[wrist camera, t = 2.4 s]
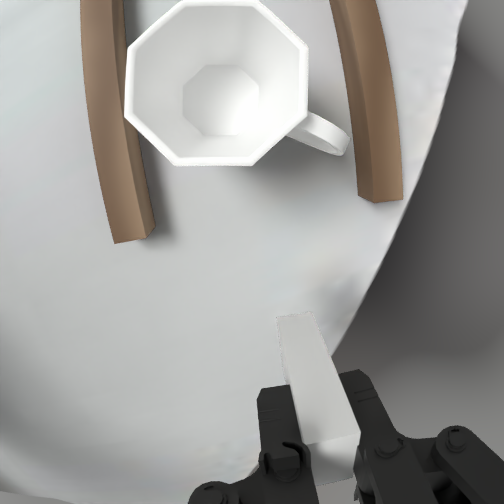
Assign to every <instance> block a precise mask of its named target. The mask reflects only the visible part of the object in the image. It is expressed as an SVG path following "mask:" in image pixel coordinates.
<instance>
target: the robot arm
mask: <svg viewBox="0 0 504 504" xmlns="http://www.w3.org/2000/svg"><path fill="white" fill-rule="evenodd" d="M276 319H277V326H278V334H279V343H280V351H281V359H282V367H283V372H284V376H285V381H286V385H282V386H276V387H270V388H263V389H261V391H260V393H259V396H258V398H257V409H258V419H259V430H260V441H261V452H260V454H259V460H258V462H259V465H260V466H259V468H258V469H257V471H256V472H255V473H253V474H252V475H251V476H249V477H247V478H245V479H243V480H240V481H238V482H235V483H232V484H227V483H224V482H220V481H211V482H208V483H204V484H202V485H200V486H199V487H197V488H196V489H195V490H194V492H193V493H192V495H191V496H190V499H189V502H188V504H319V501H318V496H317V492H316V488H315V486H319V485H324V484H328V483H333V482H337V481H341V480H345V479H349V478H352V477H353V473H355V476H356V480H357V485H356V490H355V493H354V501H355V500H358V498H359V502H360V504H504V461H503V460H502V459H501V458H500V457H499V456H498V455H497V454H495V453H494V452H493V451H492V450H491V449H490V448H489V447H488V446H487V445H486V444H485V443H484V442H482V441H481V440H480V439H479V438H478V437H477V436H476V435H475V434H474V433H473V432H472V431H470V430H469V429H467V428H465V427H462V426H458V425H457V426H450V427H447V428H445V429H443V430H442V431H441V432H440V433H439V434H438V436H437V437H435V438H425V439H412V438H408V437H405V436H404V435H402V434H400V433H399V432H397V431H396V429H395V428H394V426H393V424H392V422H391V420H390V418H389V416H388V414H387V412H386V410H385V408H384V406H383V404H382V402H381V400H380V398H379V397H378V394H377V392H376V390H375V389H374V386H373V384H372V382H371V380H370V378H369V377H368V376H367V375H366V374H364V373H363V372H362V371H360V370H359V369H358V370H354V371H350V372H345V373H341V374H337V371H336V369H335V366H334V364H333V362H332V359H331V357H330V354H329V352H328V349H327V347H326V345H325V342H324V340H323V337H322V335H321V333H320V330H319V328H318V325H317V323H316V321H315V318H314V316H313V314H312V311H311V312H305V313H300V314H294V315H288V316H282V317H276Z"/></svg>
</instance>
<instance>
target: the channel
mask: <svg viewBox="0 0 504 504" xmlns="http://www.w3.org/2000/svg"><path fill="white" fill-rule="evenodd" d="M329 1H330V5H331V10H332V14H333V19H334V23H335V28H336V32H337V37H338V42H339V47H340V53H341V58H342V64H343V70H344V76H345V82H346V88H347V95H348V102H349V109H350V116H351V124H352V133H353V142H354V152H355V162H356V174H357V187H358V195H359V196H361V197H363V198H365V199H367V200H369V201H371V202H373V203H378V202H386V201H395V200H403V183H402V164H401V149H400V138H399V127H398V118H397V110H396V102H395V95H394V88H393V81H392V75H391V69H390V64H389V58H388V53H387V48H386V43H385V38H384V34H383V29H382V25H381V21H380V17H379V13H378V9H377V5H376V1H375V0H329ZM80 19H81V45H82V61H83V73H84V84H85V93H86V102H87V110H88V117H89V124H90V131H91V137H92V143H93V149H94V155H95V160H96V166H97V171H98V176H99V181H100V186H101V190H102V195H103V200H104V204H105V208H106V212H107V217H108V221H109V225H110V229H111V233H112V236H113V240H114V244H117V243H122V242H127V241H133V240H138V239H144V238H147V237H148V235H149V234H150V233H151V231H152V230H153V229H154V228H155V227H156V225H155V221H154V216H153V211H152V207H151V202H150V197H149V192H148V187H147V182H146V177H145V172H144V167H143V161H142V156H141V150H140V144H139V138H138V132H137V129H136V128H135V127H134V126H133V125H132V124H131V123H130V122H129V121H128V120H127V119H126V118H125V117H124V105H125V80H126V64H127V47H126V36H125V23H124V8H123V0H80Z"/></svg>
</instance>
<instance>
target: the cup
mask: <svg viewBox="0 0 504 504" xmlns="http://www.w3.org/2000/svg"><path fill="white" fill-rule="evenodd" d="M307 106H308V46H307V45H306V44H305V43H304V42H303V41H302V40H301V39H300V38H299V37H298V36H297V35H296V34H295V33H294V32H293V31H292V30H291V29H290V28H289V27H287V26H286V25H285V24H284V23H283V22H282V21H281V20H280V19H279V18H278V17H277V16H275V15H274V14H273V13H272V12H271V11H270V10H269V9H268V8H266V7H265V6H264V5H263V4H262V3H261V2H259V1H258V0H181V1H180V2H179V3H178V4H176V5H175V6H174V7H173V8H171V9H170V10H169V11H168V12H167V13H166V14H164V15H163V16H162V17H161V18H160V19H159V20H157V21H156V22H155V23H154V24H153V25H152V26H151V27H149V28H148V29H147V30H146V31H145V32H144V33H143V34H142V35H141V36H140V37H139V38H138V39H137V40H136V41H135V42H133V43H132V44H131V45H130V46H129V47H128V51H127V64H126V80H125V105H124V117H125V118H126V119H127V120H128V121H129V122H130V123H131V124H132V125H133V126H134V127H135V128H136V129H137V130H138V131H139V132H140V133H141V134H142V135H143V136H145V137H146V138H147V139H148V140H149V141H150V142H151V143H152V144H153V145H154V146H155V147H156V148H157V149H158V150H159V151H160V152H161V153H162V154H163V155H164V156H165V157H166V158H167V159H168V160H169V161H170V162H171V163H172V164H173V165H174V166H252V165H254V164H255V163H256V162H257V161H258V160H259V159H260V158H261V157H262V156H263V155H264V154H265V153H267V152H268V151H269V150H270V149H271V148H272V147H273V146H274V145H275V144H276V143H277V142H279V141H280V140H281V139H282V138H283V137H284V136H287V137H290V138H292V139H295V140H297V141H300V142H302V143H304V144H307V145H309V146H312V147H314V148H317V149H319V150H322V151H324V152H327V153H330V154H333V155H337V156H342V155H343V154H344V152H345V150H346V148H347V146H348V144H349V142H350V138H349V137H348V135H347V134H346V133H345V132H344V131H343V130H341V129H340V128H338V127H337V126H335V125H334V124H332V123H330V122H329V121H327V120H325V119H323V118H321V117H320V116H318V115H316V114H314V113H312V112H310V111H308V110H307Z"/></svg>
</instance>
